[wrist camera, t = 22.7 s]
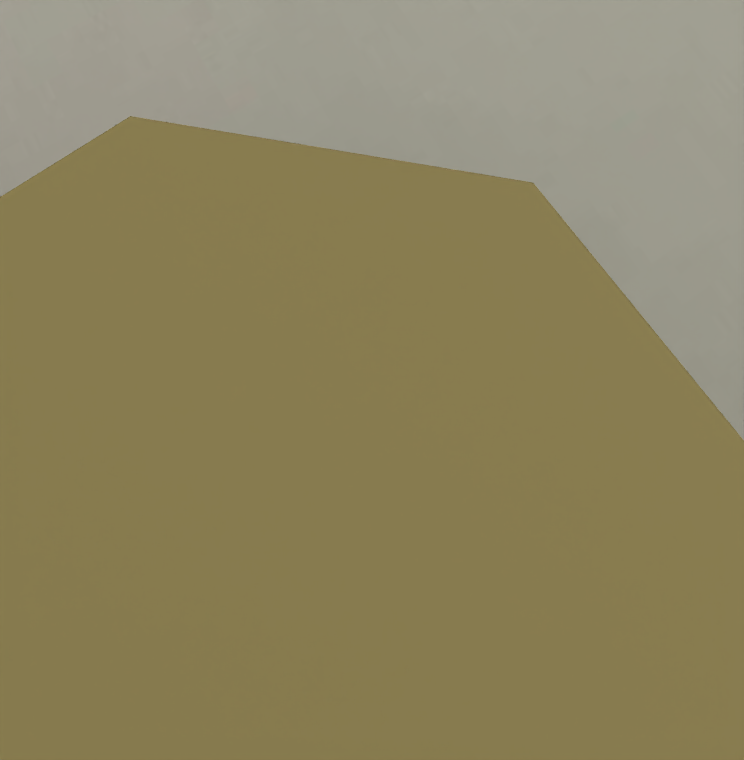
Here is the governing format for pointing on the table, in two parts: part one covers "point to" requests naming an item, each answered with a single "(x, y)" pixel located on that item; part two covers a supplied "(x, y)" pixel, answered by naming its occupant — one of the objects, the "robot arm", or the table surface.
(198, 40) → the table surface
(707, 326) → the table surface
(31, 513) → the jar
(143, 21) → the table surface
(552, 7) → the table surface
